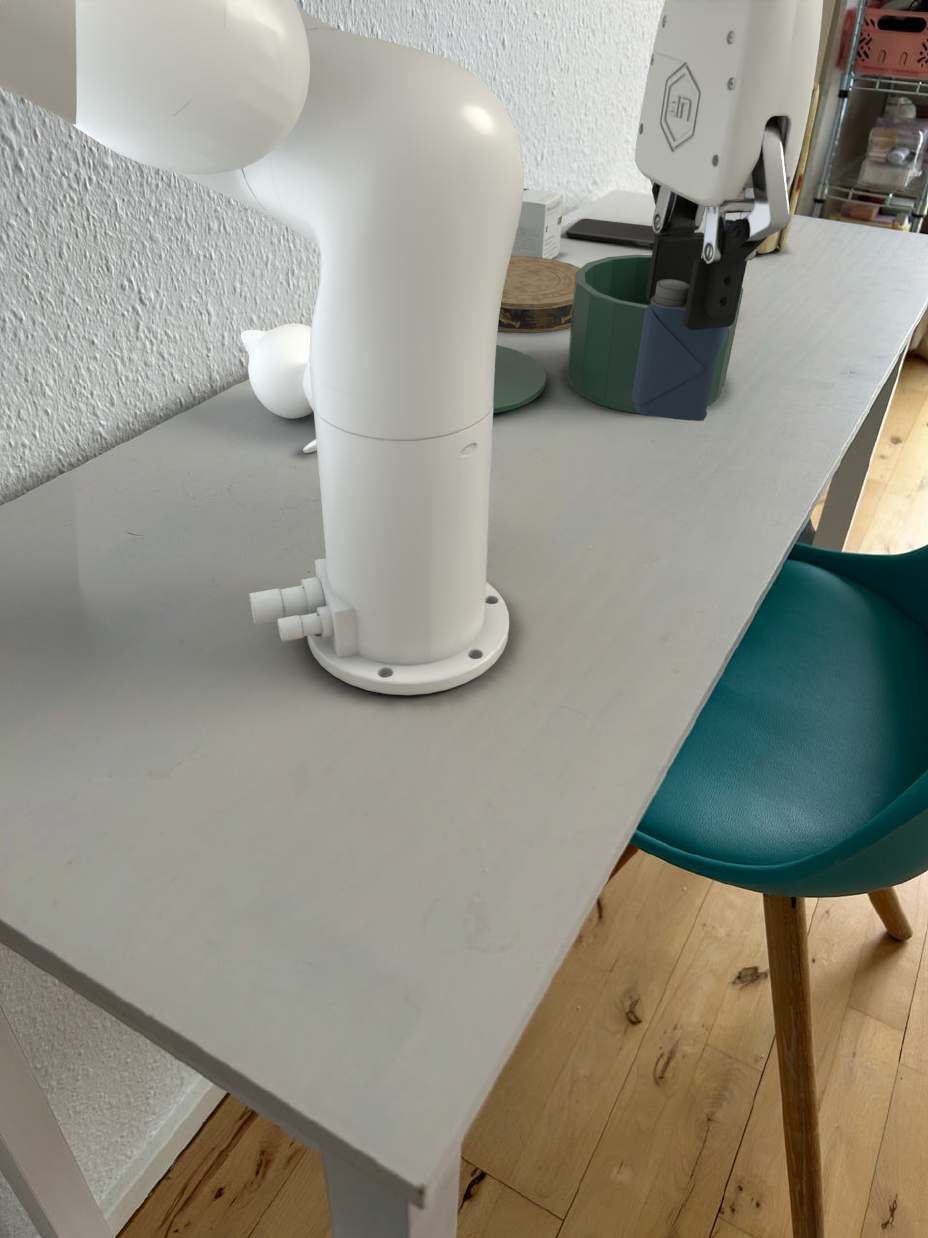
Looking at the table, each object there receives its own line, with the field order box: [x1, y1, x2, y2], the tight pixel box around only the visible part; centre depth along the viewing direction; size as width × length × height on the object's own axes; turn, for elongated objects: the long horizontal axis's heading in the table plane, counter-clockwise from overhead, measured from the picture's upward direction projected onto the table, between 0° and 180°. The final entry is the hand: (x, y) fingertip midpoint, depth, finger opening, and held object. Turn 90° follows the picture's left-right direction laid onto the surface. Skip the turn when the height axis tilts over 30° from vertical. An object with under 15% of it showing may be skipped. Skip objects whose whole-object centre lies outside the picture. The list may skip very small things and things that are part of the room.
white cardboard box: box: [511, 187, 564, 259], centre depth 117 cm, size 6×6×7 cm
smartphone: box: [566, 218, 661, 248], centre depth 127 cm, size 7×1×15 cm
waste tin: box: [566, 254, 744, 414], centre depth 88 cm, size 15×15×10 cm
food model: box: [756, 81, 820, 254], centre depth 118 cm, size 10×7×20 cm
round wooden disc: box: [498, 256, 581, 334], centre depth 105 cm, size 16×16×3 cm
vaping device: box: [632, 219, 735, 422], centre depth 59 cm, size 3×5×12 cm, turn 78°
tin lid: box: [493, 344, 547, 414], centre depth 87 cm, size 16×16×7 cm
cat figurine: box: [240, 323, 317, 454], centre depth 80 cm, size 9×11×12 cm
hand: (688, 309), depth 58 cm, fingers closed on vaping device, 4 cm apart
